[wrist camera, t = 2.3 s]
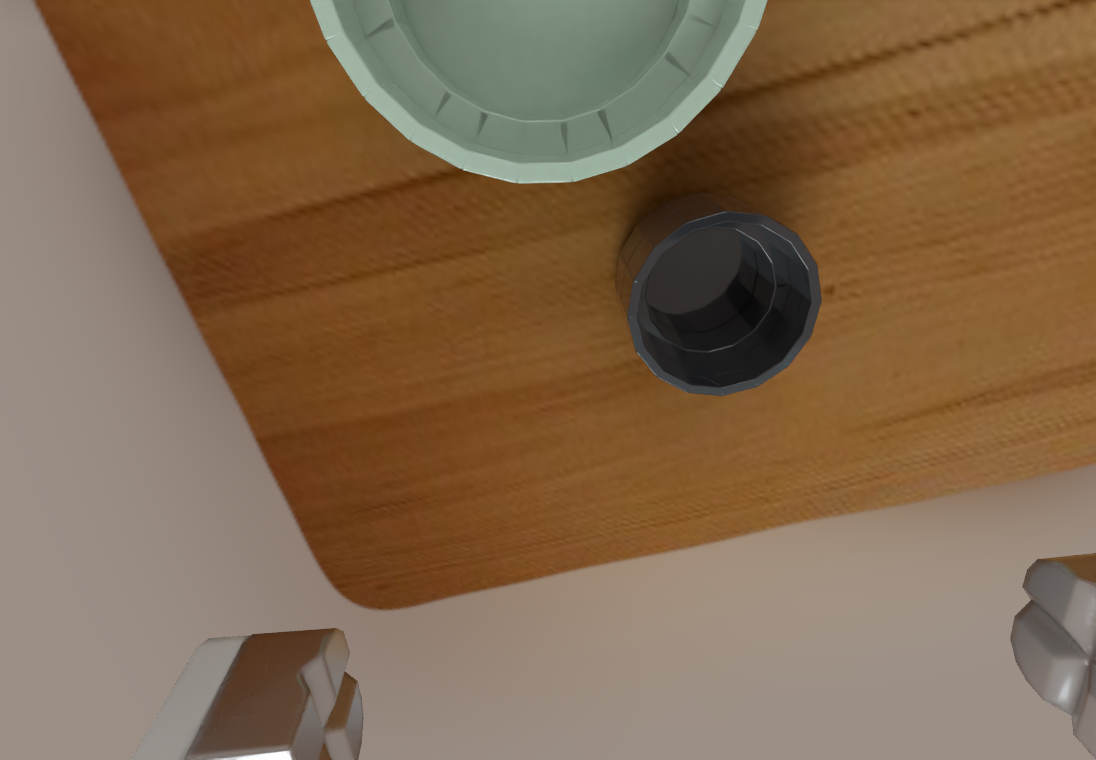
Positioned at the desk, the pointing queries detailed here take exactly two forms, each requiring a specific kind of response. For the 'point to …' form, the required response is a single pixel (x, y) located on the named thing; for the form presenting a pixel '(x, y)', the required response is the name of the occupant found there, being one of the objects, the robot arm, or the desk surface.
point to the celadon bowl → (539, 75)
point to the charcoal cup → (716, 294)
